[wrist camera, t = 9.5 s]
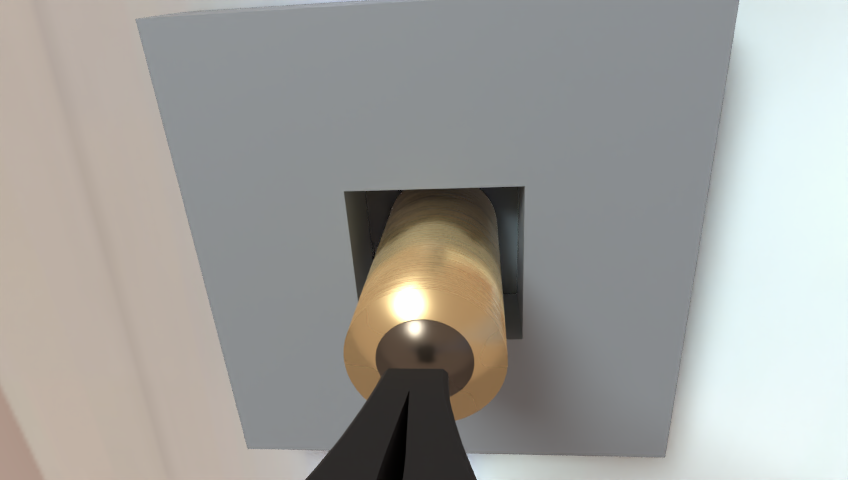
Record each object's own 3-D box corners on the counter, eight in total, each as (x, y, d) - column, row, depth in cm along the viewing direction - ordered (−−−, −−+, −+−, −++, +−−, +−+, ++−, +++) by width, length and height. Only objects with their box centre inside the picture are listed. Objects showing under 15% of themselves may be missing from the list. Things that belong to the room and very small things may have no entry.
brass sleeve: (500, 176, 20) (512, 294, 13) (494, 275, 22) (503, 429, 14) (387, 173, 20) (337, 287, 13) (391, 271, 22) (348, 420, 15)
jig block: (699, -22, 17) (742, -20, 14) (643, 401, 23) (664, 457, 21) (186, 12, 18) (135, 18, 16) (272, 397, 25) (247, 448, 22)
